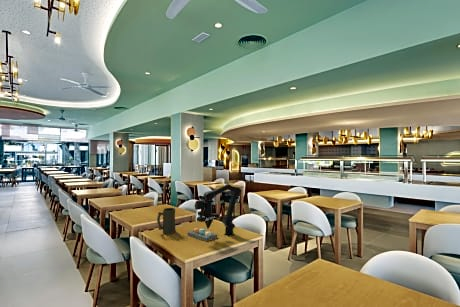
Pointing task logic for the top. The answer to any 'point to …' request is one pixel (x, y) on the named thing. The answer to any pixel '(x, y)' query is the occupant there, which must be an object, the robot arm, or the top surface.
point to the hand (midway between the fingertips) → (208, 228)
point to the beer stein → (167, 221)
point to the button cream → (207, 234)
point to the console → (202, 236)
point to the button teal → (201, 231)
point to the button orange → (196, 230)
